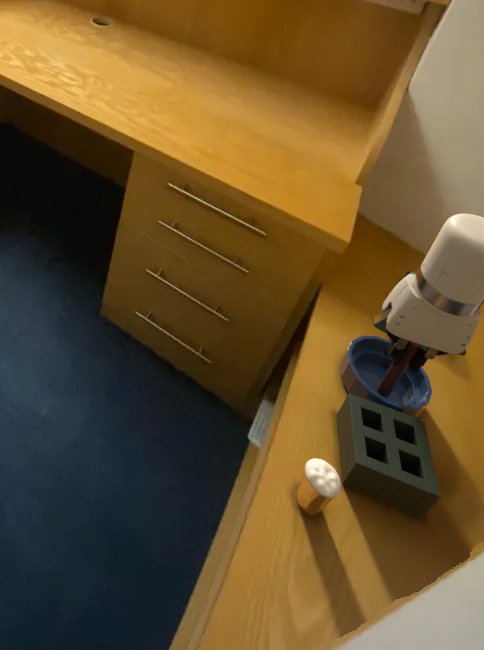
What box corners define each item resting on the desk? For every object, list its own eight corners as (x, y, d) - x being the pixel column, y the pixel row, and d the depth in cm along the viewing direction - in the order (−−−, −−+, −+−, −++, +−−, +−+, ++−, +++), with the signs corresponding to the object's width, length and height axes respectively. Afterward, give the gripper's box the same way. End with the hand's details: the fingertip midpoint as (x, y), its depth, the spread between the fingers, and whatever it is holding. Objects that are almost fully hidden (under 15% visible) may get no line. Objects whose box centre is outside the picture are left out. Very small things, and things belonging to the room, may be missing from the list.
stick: (388, 388, 88) (420, 337, 80) (390, 399, 86) (423, 348, 79) (375, 384, 88) (406, 333, 81) (377, 395, 87) (408, 344, 79)
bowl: (411, 368, 92) (422, 351, 90) (426, 439, 83) (439, 422, 80) (336, 342, 97) (345, 325, 94) (342, 407, 87) (352, 390, 84)
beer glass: (298, 525, 73) (317, 495, 68) (287, 480, 78) (304, 449, 73) (331, 531, 73) (352, 501, 68) (318, 485, 78) (337, 454, 73)
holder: (407, 442, 82) (424, 420, 79) (421, 518, 74) (440, 497, 71) (336, 414, 86) (348, 392, 82) (342, 484, 78) (356, 462, 74)
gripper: (505, 286, 74) (454, 358, 83) (380, 251, 79) (345, 322, 88) (525, 332, 68) (468, 404, 77) (388, 290, 73) (350, 362, 82)
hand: (402, 360), depth 83 cm, fingers closed on stick, 2 cm apart
